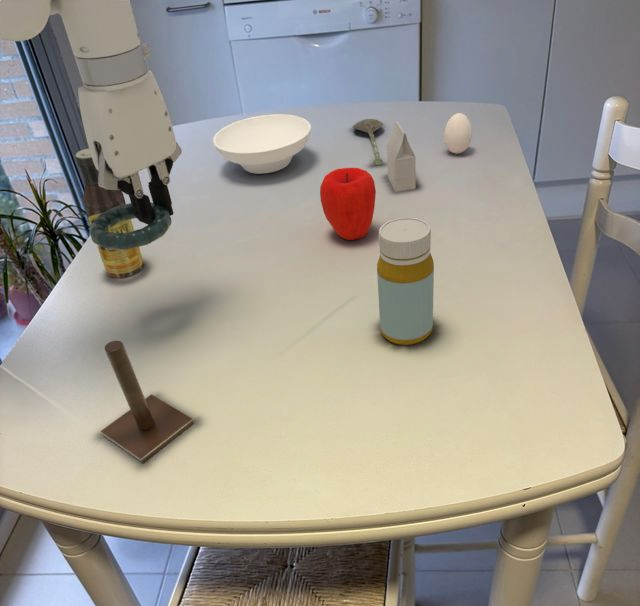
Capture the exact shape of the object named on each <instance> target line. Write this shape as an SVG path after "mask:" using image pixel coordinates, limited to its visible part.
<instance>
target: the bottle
mask: <svg viewBox="0 0 640 606" xmlns="http://www.w3.org/2000/svg"><path fill="white" fill-rule="evenodd" d="M431 237H432V230H431V225H430V224H429V223H428V222H427V221H425V220H424V219H422V218H417V217H411V216H405V217H397V218H393V219H390V220H388V221H386V222H384V223H383V224H382V225H381V226H380V227H379V229H378V245H379V257H378V260H377V263H376V267H377V268H376V274H377V290H378V291H377V293H378V295H377V296H378V313H379V314H378V315H379V329H380V333H381V334H382V336H383V338H385V339H386V340H388V341H389V342H391V343H393V344H395V345H401V346H411V345H415V344H419V343H421V342H422V341H425V340H426V339H427V338H428V337H429V336H430V335H431V334H432V332H433V328H434V326H433V325H434V287H435V286H434V282H435V280H434V278H435V266H434V265H435V264H434V263H435V262H434V259H433V256H432V254H431V245H432V244H431V242H432V241H431V240H432V239H431Z"/></svg>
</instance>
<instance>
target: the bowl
mask: <svg viewBox="0 0 640 606" xmlns="http://www.w3.org/2000/svg"><path fill="white" fill-rule="evenodd" d="M311 131H312V125H311V123H310V122H309V120H307V119H306V118H304V117H301V116H298V115H294V114H285V113H274V114H273V113H272V114H262V115H255V116H252V117H247V118H243V119H240V120H237V121H234V122H232V123H230V124H228V125H226V126H224V127H222V128H221V129H219V130H218V131H217V132H216V133H215V134H214V136H213V138H212V144H213V146H214V147H215V149H216V151H217V152H218V153H219V154H220V156H222V157H223V158H224V159H225V160H227V161H228V162H231V163H233V164H238V165H239V166H240V167H242V168H243V169H244V171H246V172H247V173H251V174H269V173H274V172H278V171H280V170H282V169H285V168H286V167H288V166H289V165H290V164H291V161H292V160H293V157H294V156H295V155H297V154H298V153H299V152H301V151H302V150H303V149H305V146H306V145H307V143H308V141H309V139H310V136H311Z"/></svg>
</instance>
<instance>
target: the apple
mask: <svg viewBox="0 0 640 606" xmlns="http://www.w3.org/2000/svg"><path fill="white" fill-rule="evenodd" d="M375 184H376V183H375V180H374V177H373V176H372V175H371V173H369V171H367V170H365V169H363V168H360V167H341V168H337V169H333V170H331V171H330V172H328V173H327V174H325V176H324V178H323V179H322V181H321V184H320V186H319V198H320V203H321V206H322V207H321V208H322V210H323V213H324V216H325V218H326V220H327V222H328V223H329V225H330V226H331V227H332V229H333V230H334V231H335V233H336V234H337V235H338V236H339V237H340V238H342V239H344V240H347V241H354V240H359V239H363V238H365V237H366V236H367V235H368V233H369V230H370V227H371V225H372V222H373V217H374V213H375V205H376V195H377V192H376V191H377V189H376V185H375Z"/></svg>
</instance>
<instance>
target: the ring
mask: <svg viewBox="0 0 640 606" xmlns="http://www.w3.org/2000/svg"><path fill="white" fill-rule="evenodd" d="M150 202H151V201H150ZM151 206H152V209H153V213H154V218H155V220H154V221H153V222H152V223H151V224H149V225H148V224H146V225H145V226H143V227H142V228H140V229H134V231H131V232H127V233H109V232H107V231H108V230H109V228H110V227H112V226H114V225H116V224H118V223H120V222H122V221H126V220H130V219H131V220H134V219H137V218H136V216H135V214H134V210H133V207H132V204H131V202H129V203H126V204H125V205H120V206H116V207H114V208H112V209H110V210H108V211H106V212H104V213H102V214H100V215H99V216H98V217H97V218H96V219H95V220H94V221H93V223H92V224H91V225H90V224H89V234H90V238H91V239H90V240H91V241H92V243H94V244H95V245H96V246H97V245H99V246H102V247H104V248H106V249H109V250H128V249H132V248H136V247H139V248H140V247H143V246H148V245H150V244H151V243H153V242H155V241H157V240H158V239H160V238H162V237H163V236H164V235H165V234H166V233H167V231H168V230H169V229H170V227H171V225H172V224H173V223H172V222H173V221H172V217H171V216H170V215H169V212H168V210H167V209H166V208H165V207H163V206H160V205H158V204H155V203H153V201H152V202H151Z"/></svg>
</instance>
